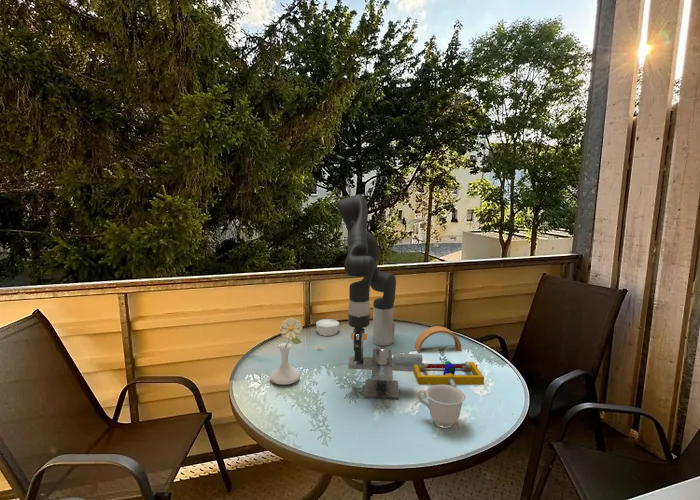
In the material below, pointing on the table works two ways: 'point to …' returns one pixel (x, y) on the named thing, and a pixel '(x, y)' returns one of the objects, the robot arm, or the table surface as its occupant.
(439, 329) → the arch
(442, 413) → the teacup
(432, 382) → the mechanical clamp
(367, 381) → the metal cross stand
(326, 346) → the mounting bracket
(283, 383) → the flower in vase
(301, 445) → the table surface
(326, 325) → the ramekin
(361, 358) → the pin
